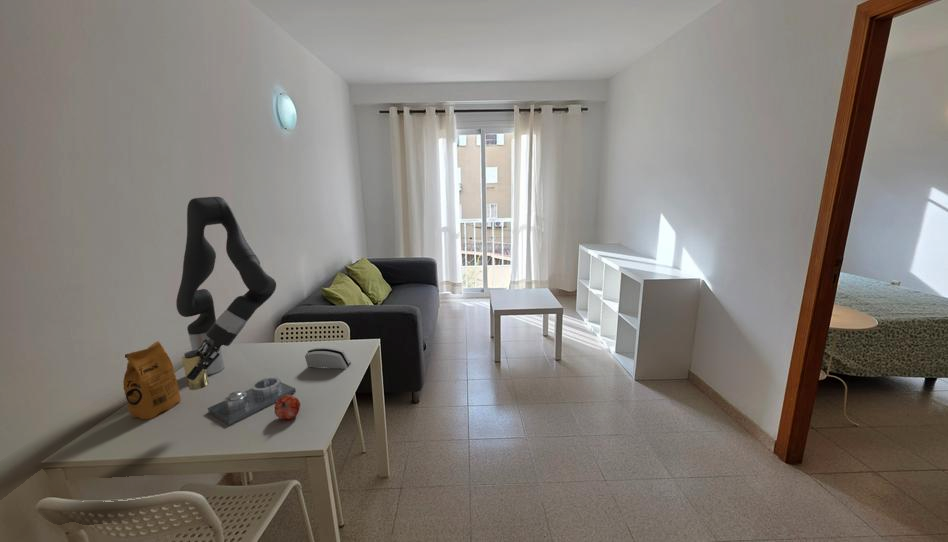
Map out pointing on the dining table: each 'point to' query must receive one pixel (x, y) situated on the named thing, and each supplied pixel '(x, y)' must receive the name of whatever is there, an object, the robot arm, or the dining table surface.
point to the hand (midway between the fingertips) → (189, 375)
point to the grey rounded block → (327, 358)
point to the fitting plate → (250, 400)
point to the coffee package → (150, 382)
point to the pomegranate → (287, 407)
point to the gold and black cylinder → (189, 364)
